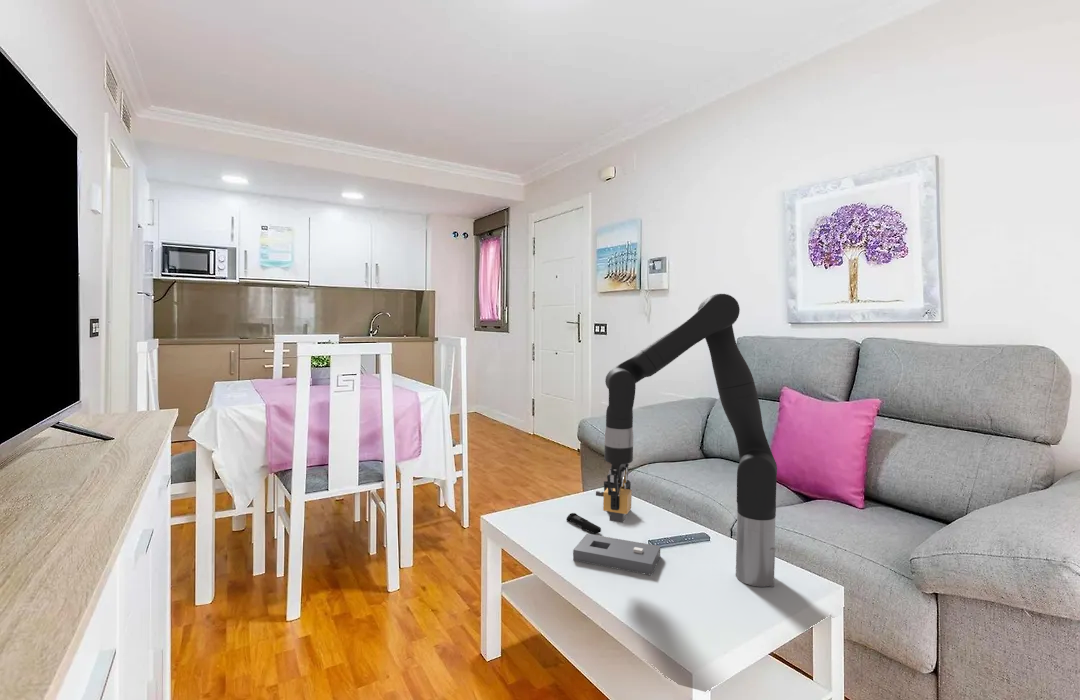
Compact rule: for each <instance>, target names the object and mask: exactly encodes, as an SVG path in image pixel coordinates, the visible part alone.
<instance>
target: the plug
mask: <svg viewBox="0 0 1080 700" xmlns="http://www.w3.org/2000/svg"><path fill="white" fill-rule="evenodd" d="M613 491H615V488H613ZM632 492H633V491H632V489H631V488H630V489H623V488H621V489H620V503H619V510H612V509H611V495H608V488H607V489H606V490H605V491H604V490H603V491H598V490H597V491H595V496H597V497H603V506H602V507H603V508H602V511H604V512H608V511H609V512H608V513H609V521H610V522H613V523H615V522H616V523H622V524H623V523H624V522H625V520H626V515H628V513H629V512H630V510H632V497H633V496H632Z"/></svg>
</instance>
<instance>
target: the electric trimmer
mask: <svg viewBox="0 0 1080 700" xmlns="http://www.w3.org/2000/svg"><path fill="white" fill-rule="evenodd" d="M566 521H567V522H571V523H573V524H574V525H577V526H579V527H580V528H581V529H582V530H584V531H587V532H590V533H592V534H594V535H597V534H598V533H601V532H602V527H600V526H598V525H596V524H594V523H593V522H591V521H589V520H588V519H586V518H584V517H582V516H580V515H579V514H577V513H575V512H572V513H569V514H568V515H567V517H566Z"/></svg>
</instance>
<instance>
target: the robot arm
mask: <svg viewBox="0 0 1080 700" xmlns="http://www.w3.org/2000/svg"><path fill="white" fill-rule="evenodd" d="M740 311H741V309H740V305H739V302H738V300H737V299H736V298H735V297H733V296H732V295H730V294H729V293H728V294H727V293H717V294H713V295H710V296H708V297H707V298H705V299H703V300H702V302H701V303H700V304H699V306H698V307H697V311H696V312H695V313H694V314H693V315H692V316H691V317H689V318H688V319H687V320H686V321H684V322H683V323H682V324H680V325H678V326H677V327H676V328H674V329H672V330H671V331H668V332H667V333H665V334H663V335H662V336H660V337H659V338H657V339H656V340H654V341H653V342H652V343H650V344H648V345H647V346H645V347H644V348H643V349H642V350H640V351H639V352H638V353H636V354H635V355H634V356H632V357H630V358H628V359H627V360H625V361H623V362H621V363H619V364H618V365H616V366H615V367H613V368H612V369H611V370H609V371H608V373H607V374H606V376H605V379H604V380H605V386H606V388H607V389H608V405H607V408H606V412H605V414H606V416H605V431H604V456H603V457H604V461H605V462H607V463H608V464H609V463H610V465H611V466H610V468H609V470H608V471H609V472H608V474H607V475H606V476H607V481H608V495H611V509H612V510H619V503H620V489H621V488H623V489H625V488H626V485H627V480H628V477H629V476H628V474H629V465H630V463H633V461H634V430H633V429H634V428H633V423H634V418H633V417H634V411H633V410H634V403H635V397H636V390H637V389H636V384H637V383H638V382H640V381H641V380H643V379H645V378H649V377H652V376H653V375H655V374H656V373H658V372H660V371H661V370H662V369H664V368H665V367H666V366H668V365H669V364H670V363H672V362H673V361H674V360H675V361H676V359H677V358H679V357H680V356H681V355H683V354H684V353H685V352H686V351H688V350H690V348H692V347H693V346H695V345H697V343H700V342H701V341H703V340H705V341H706V344H707V347H708V350H709V356H710V358H711V359H710V360H711V365H712V370H713V374H714V377H715V383H716V387H717V388H716V389H717V392H718V396H719V399H720V403H721V405H722V408H723V411H724V414H725V415H726V418H727V420H728V422H729V424H730V426H731V428H732V430H733V433H734V436H735V439H736V444H737V450H738V457H739V464H738V465H737V469H736V470H737V474H736V507H737V509H736V548H735V549H736V552H735V553H736V555H735V577H736V578H737V579H738V580H739V581H740V582H742V583H743V584H746V585H749V586H753V587H759V588H760V587H762V588H764V587H772V588H774V587H775V569H776V568H775V563H776V562H775V561H776V549H775V548H776V545H775V544H776V516H777V479H778V478H777V475H778V466H777V462H776V459H775V458H774V457H775V456H774V455H773V452H772V450H771V448H770V445H769V443H768V439H767V436H766V433H765V430H764V424H763V418H762V411H761V410H762V409H761V405H760V401H759V396H758V391H757V388H756V384H755V380H754V377H753V374H752V371H751V370H750V367H749V365H748V364H747V362H746V360H745V357H744V356H743V355H742V353H741V351H740V349H739V346H738V344H737V341H736V337H735V333H734V327H733V325H734V324H735V323H736V322H737V320H738V319H739V315H740V313H741V312H740ZM613 488H615V491H613Z"/></svg>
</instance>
